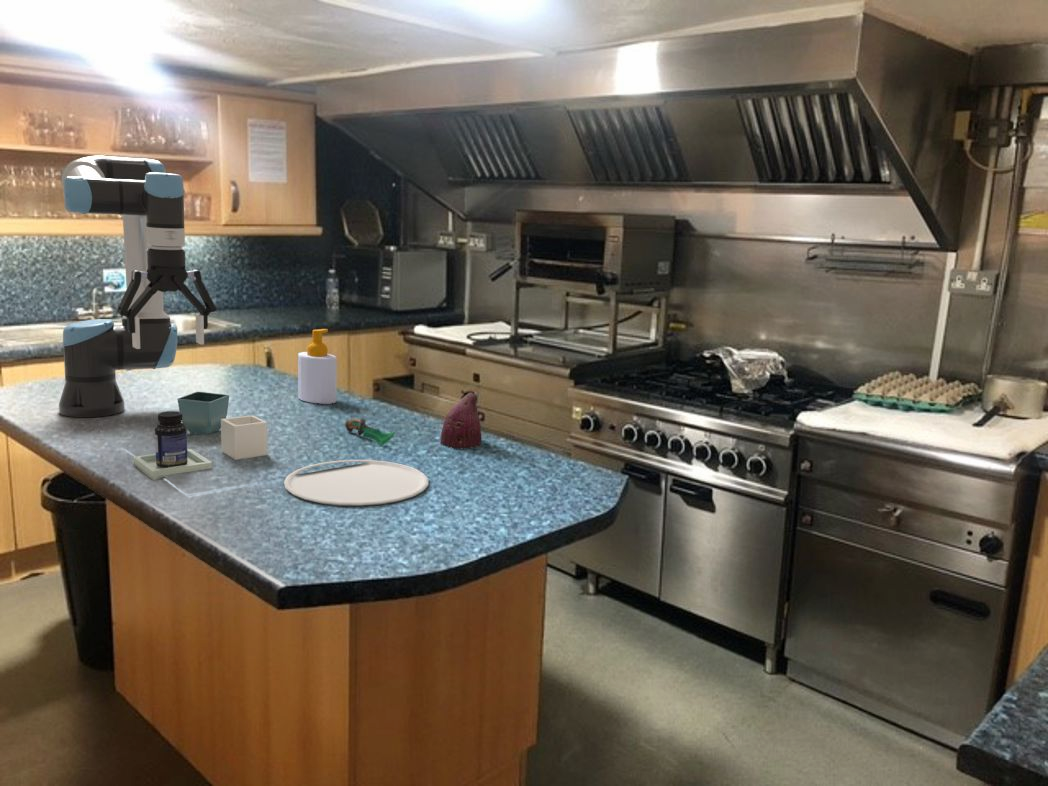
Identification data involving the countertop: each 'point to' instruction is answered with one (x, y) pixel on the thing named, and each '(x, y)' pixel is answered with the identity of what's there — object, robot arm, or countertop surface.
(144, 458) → the tray
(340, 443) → the countertop surface
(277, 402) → the countertop surface
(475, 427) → the vegetable
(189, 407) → the flower pot
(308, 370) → the soap bottle
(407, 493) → the plate
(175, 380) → the countertop surface
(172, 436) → the pill bottle
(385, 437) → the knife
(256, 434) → the open cream box
